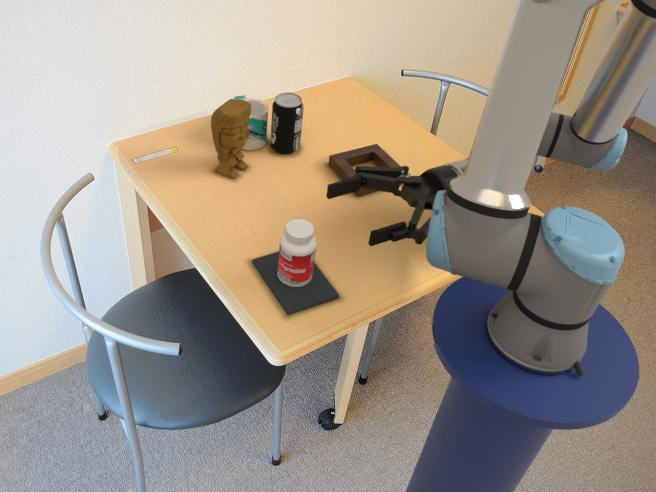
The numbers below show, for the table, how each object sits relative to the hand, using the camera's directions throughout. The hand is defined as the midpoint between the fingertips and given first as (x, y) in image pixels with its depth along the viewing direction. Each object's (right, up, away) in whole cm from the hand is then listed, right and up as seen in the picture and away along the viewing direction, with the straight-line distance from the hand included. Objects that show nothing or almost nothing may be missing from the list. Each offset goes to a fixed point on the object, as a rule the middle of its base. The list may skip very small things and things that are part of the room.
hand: (348, 214), depth 110 cm
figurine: (-21, +12, +29) cm, 38 cm away
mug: (-18, +21, +38) cm, 47 cm away
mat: (-9, -11, +5) cm, 15 cm away
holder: (+8, +11, +29) cm, 32 cm away
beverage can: (-9, +17, +35) cm, 40 cm away
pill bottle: (-9, -11, +5) cm, 15 cm away
